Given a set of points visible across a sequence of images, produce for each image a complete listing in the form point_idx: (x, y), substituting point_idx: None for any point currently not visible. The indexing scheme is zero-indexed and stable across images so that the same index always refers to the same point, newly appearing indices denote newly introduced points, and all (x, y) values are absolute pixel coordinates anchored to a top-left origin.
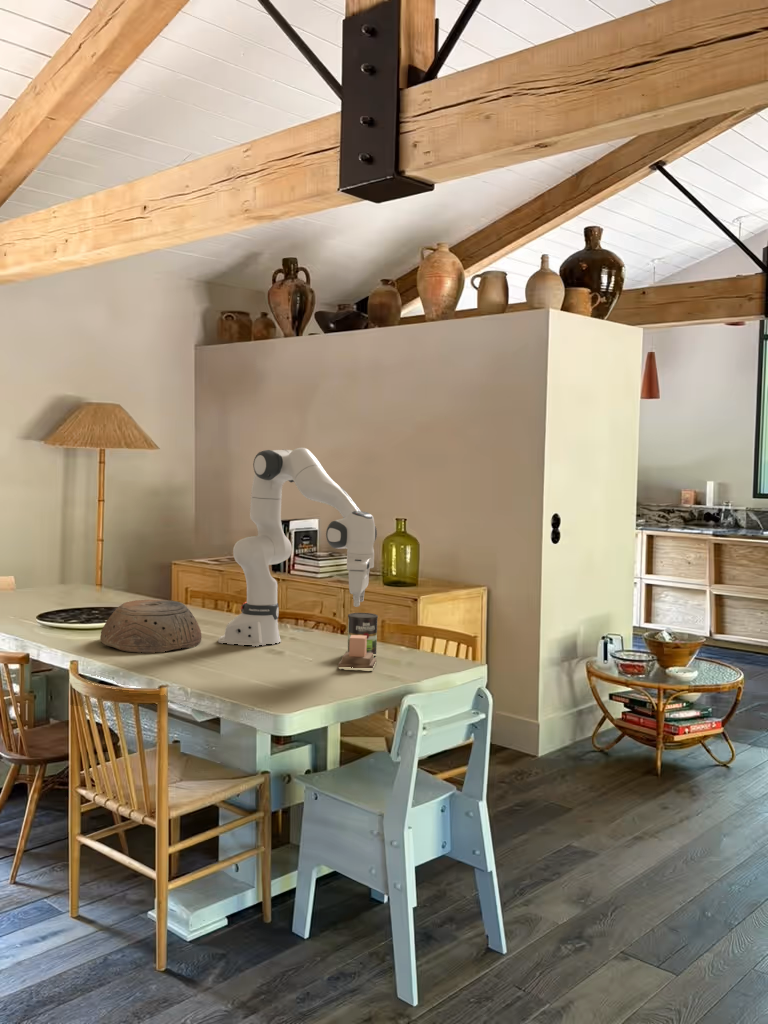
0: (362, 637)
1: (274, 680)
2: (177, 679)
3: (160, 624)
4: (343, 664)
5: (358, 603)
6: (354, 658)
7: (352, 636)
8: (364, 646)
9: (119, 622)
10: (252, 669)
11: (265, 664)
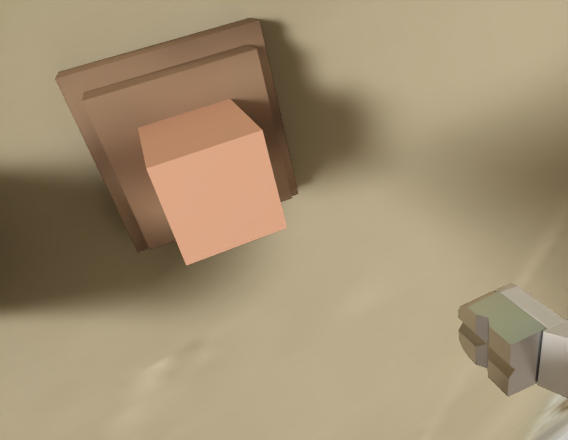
0: (233, 163)
1: (491, 272)
2: (517, 424)
3: None
4: (292, 171)
5: (540, 307)
6: (276, 136)
7: (236, 235)
8: (246, 116)
9: None
10: (387, 390)
11: (315, 408)
